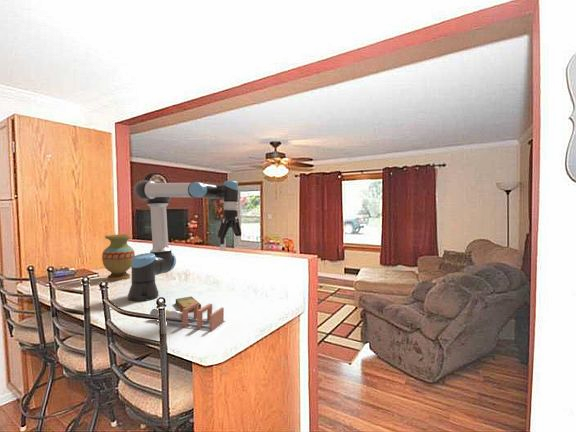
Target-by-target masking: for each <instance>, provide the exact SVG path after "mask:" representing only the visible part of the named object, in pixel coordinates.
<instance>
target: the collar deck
mask: <svg viewBox="0 0 576 432" xmlns="http://www.w3.org/2000/svg"><path fill="white" fill-rule="evenodd" d="M198 302H199V301H198ZM198 302H195V303H193V304H191V305H189V306H188V307H186V308H184V309H183V322H177V321H168V320H166V322H167V326H166V327H169V328H179V329H186V330H187V329H188V330H193V331H194V330H195V331H203V332H211V333H212V332H213V331H215V330H216V329H218V328H219V327H220V326H221V325H223V324H224V323H225V322H226V320H225V319H224V318H225V317H224V313H225V312H224V311H225V310H224V308H225V307H219V309H217V310H215V311H214V312H213V303H207V304H206V305H204V306H203V307H202V306H201V309H199V303H200V302H199V303H198ZM193 308H194V311H193V316H189V312H188V311H189V310H191V309H193ZM206 311H207V312H206ZM205 312H206V313H207V314H206V318H203V313H205ZM158 323H159V322H157V323H155V324H154V325H155V326H159V325H158Z"/></svg>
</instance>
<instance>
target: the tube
mask: <svg viewBox="0 0 576 432" xmlns="http://www.w3.org/2000/svg"><path fill="white" fill-rule="evenodd" d="M157 309H158V308H153V309H151V311H150V312H149V315H150V314H151V315H158V310H157ZM165 310H166V320H168V321H177V322H183V312H182V311H179V310H177V311H176V310H168V309H165Z"/></svg>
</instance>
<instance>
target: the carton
mask: <svg viewBox="0 0 576 432" xmlns="http://www.w3.org/2000/svg"><path fill="white" fill-rule="evenodd" d="M195 302H198V303H199V309H201V308H202V304H201V303H200V302H199V301H197V300H196V298H194V297H193V296H191V295H190V296H185V297H180V298H175V305H176V306H177V307H178V309H180V312H183V309H184V308H186V307H188V306H189V305H191V304H193V303H195ZM191 312H193V313H194V308H193V309H191V310H189V311H188V313H191Z"/></svg>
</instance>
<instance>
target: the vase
mask: <svg viewBox="0 0 576 432" xmlns="http://www.w3.org/2000/svg"><path fill="white" fill-rule="evenodd" d="M131 238H133V235H132V234H126V233H123V234H121V233H120V234H119V233H118V234H105V237H104V239H107V240H108V241H110V244H109V245H108V247H106V248H105V249H103V251H102V256H101V260H102V264H103V266H104V268H105V269H106V270H107V271H109V273H110V274H108V276H106V277H107V279H108V280H107V281H111V280H117V281H123V280H122V279H125V280H128V279H130V278H131V274H129V273H127V272H128V270H130V269H131V268H132V266H131V264H132V258H133V257H134V256H136V254H135V250H134V248H132V247H131V246H130V245H129V244H128V240H130V239H131Z"/></svg>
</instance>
